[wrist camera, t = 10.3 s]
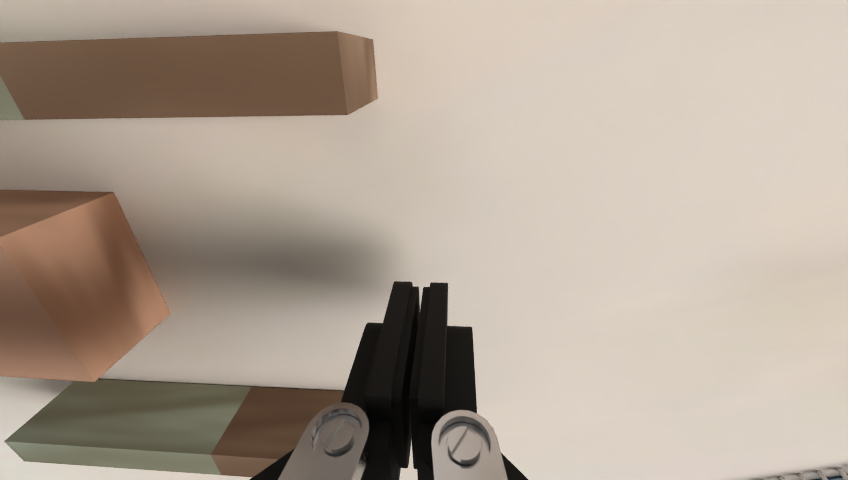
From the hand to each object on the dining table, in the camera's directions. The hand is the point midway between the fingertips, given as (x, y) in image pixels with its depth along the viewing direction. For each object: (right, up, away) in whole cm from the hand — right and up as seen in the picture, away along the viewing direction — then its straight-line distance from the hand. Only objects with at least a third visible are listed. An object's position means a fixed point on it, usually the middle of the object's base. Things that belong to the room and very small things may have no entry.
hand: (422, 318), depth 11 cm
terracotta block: (-15, +2, +4) cm, 16 cm away
